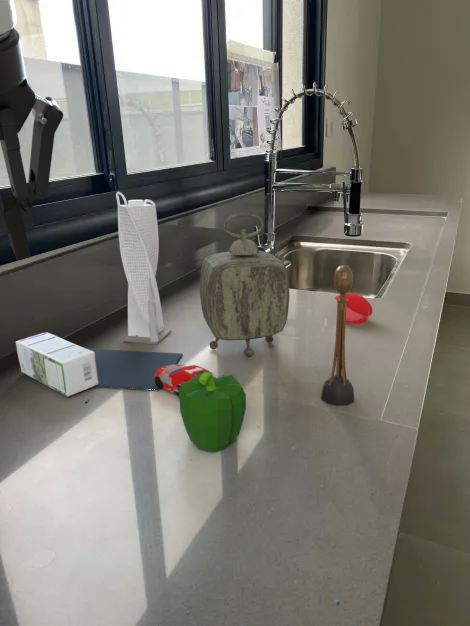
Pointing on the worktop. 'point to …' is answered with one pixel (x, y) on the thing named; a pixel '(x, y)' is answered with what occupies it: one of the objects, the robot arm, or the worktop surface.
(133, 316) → the skyscraper
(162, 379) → the race car
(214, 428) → the bell pepper
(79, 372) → the syrup box
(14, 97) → the robot arm
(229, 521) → the worktop surface
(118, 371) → the mat
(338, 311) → the wooden tabletop sculpture
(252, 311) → the tabletop clock
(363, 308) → the cap
